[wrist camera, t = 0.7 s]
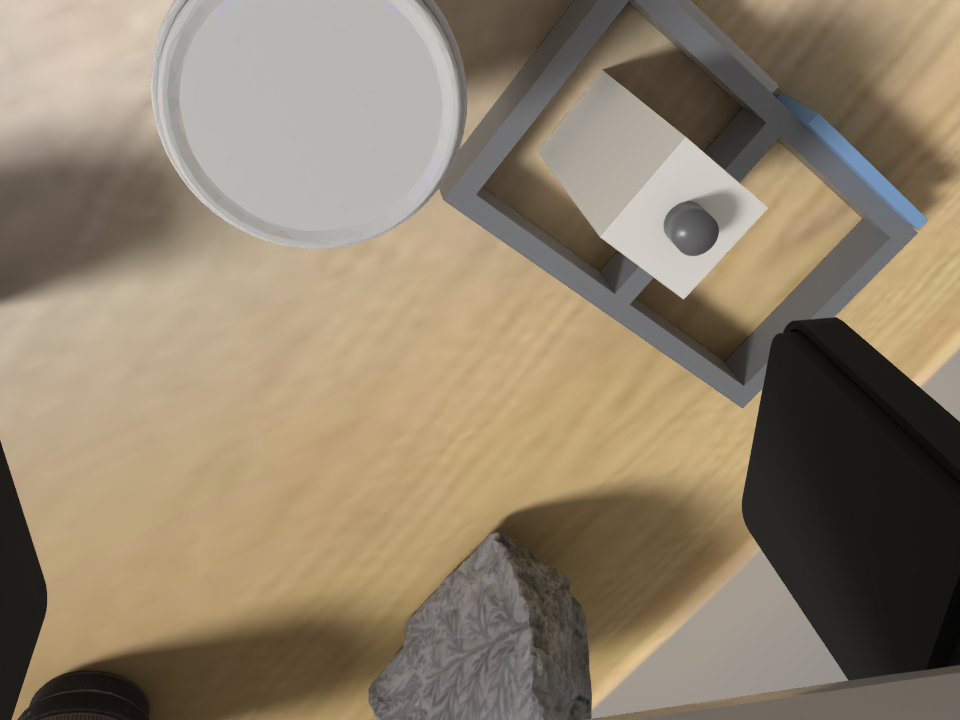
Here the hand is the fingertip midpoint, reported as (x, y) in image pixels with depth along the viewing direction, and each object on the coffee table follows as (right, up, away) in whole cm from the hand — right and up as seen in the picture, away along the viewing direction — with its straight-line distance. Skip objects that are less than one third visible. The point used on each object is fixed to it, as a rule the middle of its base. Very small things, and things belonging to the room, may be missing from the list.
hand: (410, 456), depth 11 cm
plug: (+7, +11, +30) cm, 33 cm away
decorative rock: (0, -14, +44) cm, 46 cm away
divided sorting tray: (+10, +9, +32) cm, 35 cm away
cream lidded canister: (-6, +15, +26) cm, 30 cm away
